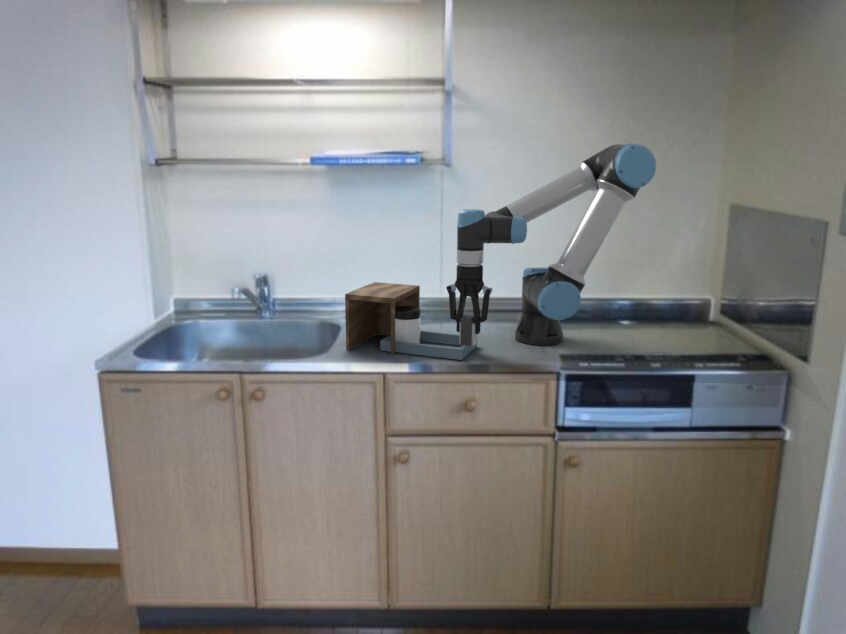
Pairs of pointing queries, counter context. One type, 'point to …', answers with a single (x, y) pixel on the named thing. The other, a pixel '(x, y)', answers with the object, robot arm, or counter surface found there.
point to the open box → (376, 310)
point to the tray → (438, 338)
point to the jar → (407, 324)
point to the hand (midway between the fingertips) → (468, 343)
